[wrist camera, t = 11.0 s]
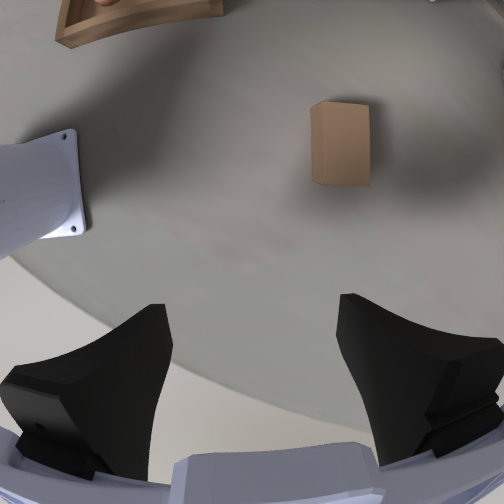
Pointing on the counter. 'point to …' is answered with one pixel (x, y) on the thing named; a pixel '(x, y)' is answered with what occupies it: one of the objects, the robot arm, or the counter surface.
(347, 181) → the lid
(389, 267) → the counter surface
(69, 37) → the box
